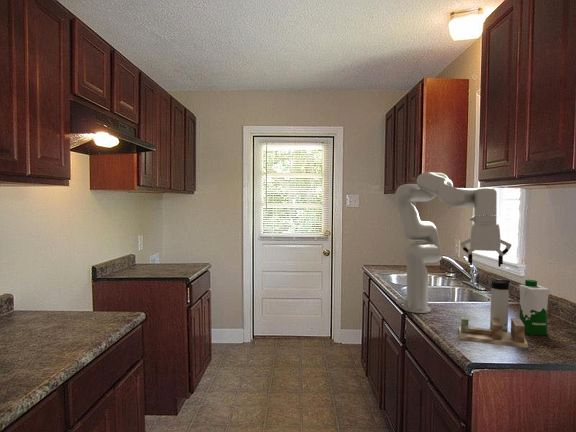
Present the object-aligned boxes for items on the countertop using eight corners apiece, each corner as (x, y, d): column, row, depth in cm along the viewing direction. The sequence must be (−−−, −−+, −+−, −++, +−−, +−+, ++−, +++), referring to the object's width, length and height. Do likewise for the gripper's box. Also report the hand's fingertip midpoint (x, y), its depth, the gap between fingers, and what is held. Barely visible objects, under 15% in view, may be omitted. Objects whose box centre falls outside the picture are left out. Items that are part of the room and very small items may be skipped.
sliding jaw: (461, 334, 147) (461, 321, 146) (460, 326, 156) (461, 314, 156) (501, 339, 142) (502, 325, 141) (498, 331, 151) (499, 318, 151)
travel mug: (510, 332, 154) (512, 281, 153) (492, 331, 155) (494, 281, 155) (505, 327, 160) (507, 278, 160) (488, 326, 162) (489, 278, 161)
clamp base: (459, 338, 146) (460, 319, 146) (459, 329, 157) (459, 311, 157) (527, 347, 138) (528, 327, 137) (522, 337, 149) (522, 318, 148)
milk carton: (536, 328, 160) (538, 279, 159) (551, 335, 151) (553, 284, 150) (515, 328, 160) (516, 279, 159) (528, 335, 151) (530, 284, 150)
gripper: (459, 220, 149) (459, 265, 149) (511, 220, 141) (511, 268, 141) (461, 220, 156) (461, 263, 156) (511, 220, 148) (510, 265, 148)
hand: (485, 265), depth 149 cm, fingers open, 9 cm apart
